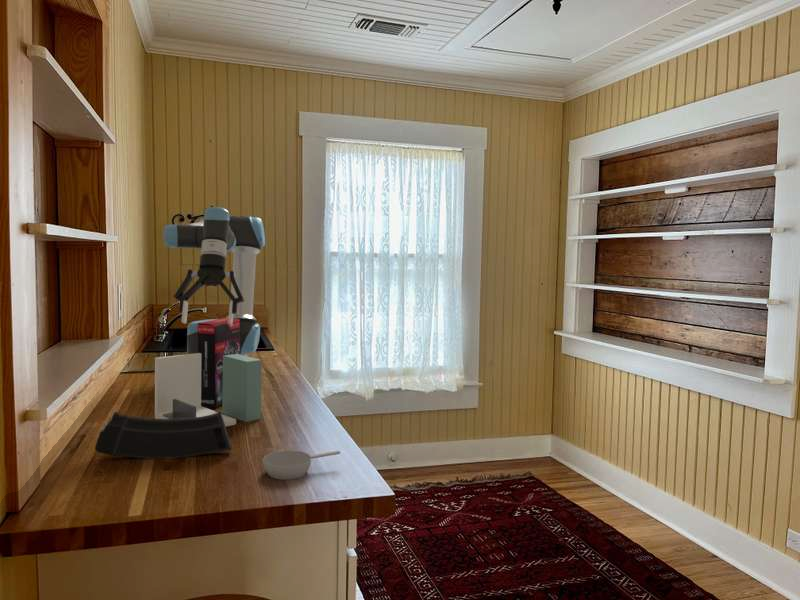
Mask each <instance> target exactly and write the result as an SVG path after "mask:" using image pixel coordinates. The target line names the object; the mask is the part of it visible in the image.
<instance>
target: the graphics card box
mask: <svg viewBox="0 0 800 600" xmlns="http://www.w3.org/2000/svg"><path fill="white" fill-rule="evenodd" d="M216 319H217V320H211V321H206V322H201V323H198V353H201V406H202V407H205V408H208V409H210V408H212V409H217V408H218V407H221V406H222V396H223V356H224V355H232V354H240V320H239V319H234V318H233V323H232V325H229V324H228V319H229V318H226V317H222V318H216ZM240 355H241V354H240Z"/></svg>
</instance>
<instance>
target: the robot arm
mask: <svg viewBox="0 0 800 600" xmlns="http://www.w3.org/2000/svg"><path fill="white" fill-rule="evenodd" d="M162 233H163V235H162V237H163V242H164V245H165V246H166V247H168V248H173V249H179V248H180V249H199V250H200V258H199V265H198V266H199V268H198V271H197V270H192V269H188V270H187V273H186V276H185V278H184V280H183V281H182V283H181V285H180V286H179V287H178V289H177V291H176V292H175V293H174V295H173V298H174V299H175V300H177V301H179V313H181V321H180V322H181V323H182V324H184V325H187V321H188V320H187V319H188V311H189V310H188V309H189V302H188V300H189V299H190V298H191V297H192V296H193V295H194V294H195V293H196V292H197V291H199V289H200V288H202V287H203V286H205V287H210V286H212V287H217V286H220V287H221V289H223V291H224V292H225V293H226V295H227V296H228V297H229V299H230V301H229V309H228V315H227V316H226V317H225V318H229V319H228V324H229V325H232V323H233V318H234V319H239V320H240V355H252V354H254V353H255V352H256V351H257V348H258V345H259V343H260V336H261V325H260V324H259V323H257V318H255V316H254V302H255V301H254V299H255V296H254V295H255V282H256V280H255V279H256V278H255V277H256V263H257V262H256V261H257V255H258V254H259V253H261V248H263V247H265V245H266V236H265V229H264V223H263V221H262V219H261V218H260V217H255V216H250V215H249V216H242V215H241V216H238V215H237V216H235V215H234V216H233V215H230V212H229V211H228V210H227V209H225V208H224V207H218V206H210V207H207V208H206V209H205V210H204V215H203V219H200V220H199V221H197V222H193V223H191V222H190V223H186V224H175V223H174V224H166V225H165V226H164V230H163V232H162ZM230 252H231V253H233V258H232V260H233V261H232V262H233V263H232V270H230V271H226V260H227V259H226V257H227V253H230ZM196 277H198V279H197V280H196V281H195V283H194V284H193V285H192V286H190V284H191V283H192V281H193V279H194V278H196ZM226 277H227V278H228V280H230V282H231V289H229V288H228V287H227V285H226V284H225V283H224V282H223V281H224V279H226ZM189 286H190V288H189ZM187 289H188V290H187ZM230 290H231V291H230ZM217 319H218V318H212V319H201V320H195V321H192V322H190V323H188V325H187V333H186V354H195V353H198V323H201V322H206V321H211V320H217Z"/></svg>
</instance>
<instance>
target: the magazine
mask: <svg viewBox="0 0 800 600" xmlns="http://www.w3.org/2000/svg"><path fill="white" fill-rule="evenodd" d="M217 412H218V413H216V414H212V415H208V416H203V417H194V418H179V419H156V418H152V417H151V418H150V417H149V418H147V417H138V416H132V415H129V414H126V415H125V414H121V413H119V412H117V411H115V412H114V413H112V414H113V415H112V416H111V415H109V416H108V417H107V420H106V422H105V424H104V426H103V428H102V429H101V431H99V435H98V438H97V441H96V443H95V447H94V450H95V452H98V453H101V454H105V455H110V456H112V458H111V459H112V460H114V459H115V457H123V458H136V459H172V458H173V459H174V458H187V457H195V456H201V455H207V454H213V453H220V452H225V451H231V450H232V448H233V447H232V445H231V441H230V438H229V435H228V430H227V428H226V427H227V426H226V427H225V424H224V420H223V418H222V415H221V414H222V411H217Z"/></svg>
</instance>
